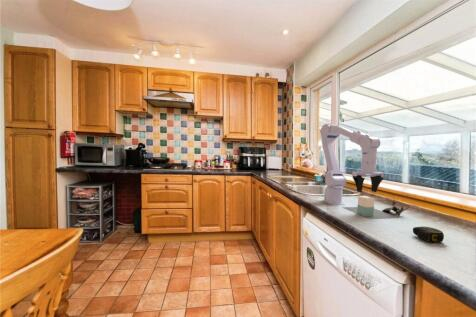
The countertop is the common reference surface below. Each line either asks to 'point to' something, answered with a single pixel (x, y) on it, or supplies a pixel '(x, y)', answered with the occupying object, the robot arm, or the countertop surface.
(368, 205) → the cream brick
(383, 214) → the build mat
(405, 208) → the eagle figurine
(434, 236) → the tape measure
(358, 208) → the teal brick
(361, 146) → the robot arm
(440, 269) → the countertop surface
